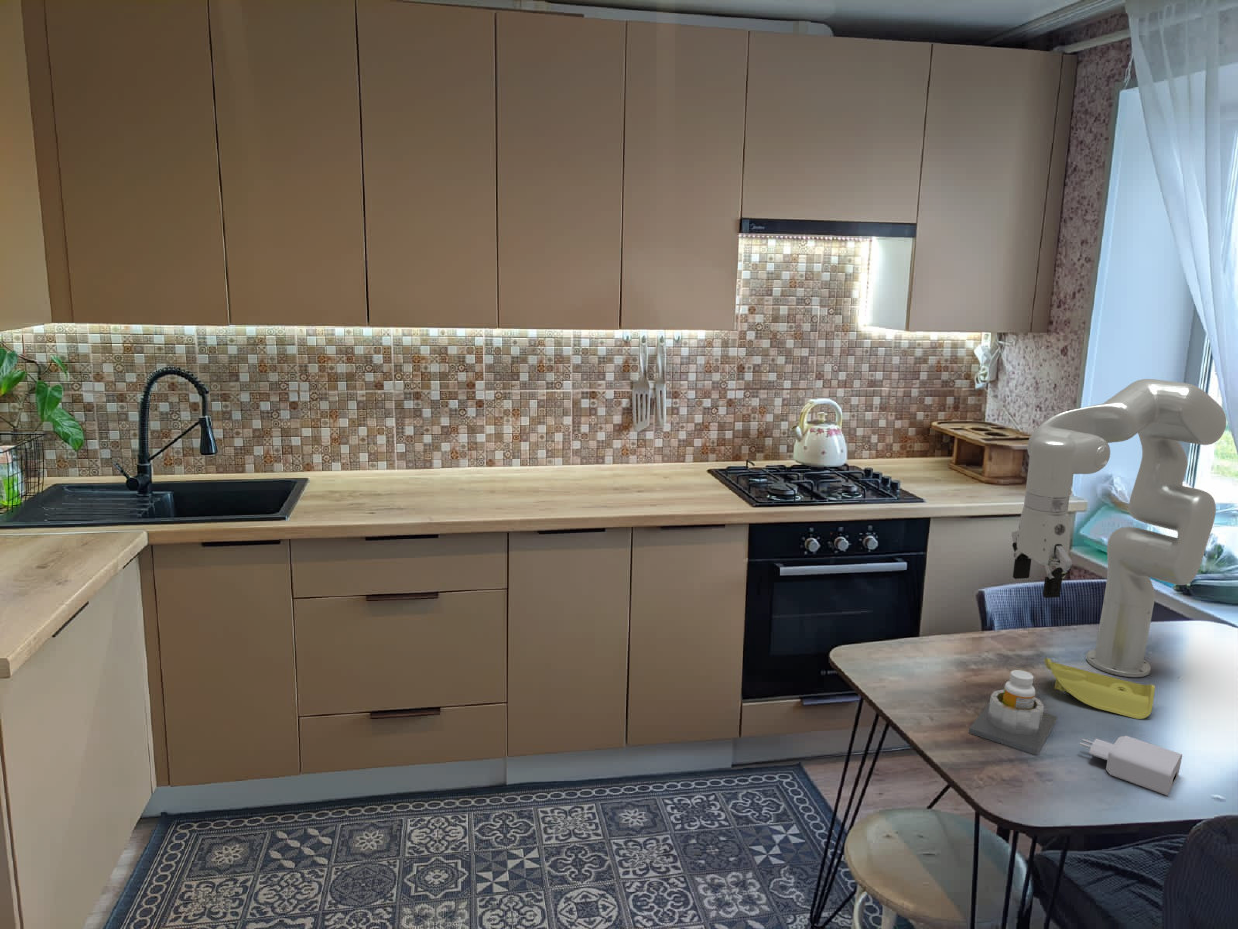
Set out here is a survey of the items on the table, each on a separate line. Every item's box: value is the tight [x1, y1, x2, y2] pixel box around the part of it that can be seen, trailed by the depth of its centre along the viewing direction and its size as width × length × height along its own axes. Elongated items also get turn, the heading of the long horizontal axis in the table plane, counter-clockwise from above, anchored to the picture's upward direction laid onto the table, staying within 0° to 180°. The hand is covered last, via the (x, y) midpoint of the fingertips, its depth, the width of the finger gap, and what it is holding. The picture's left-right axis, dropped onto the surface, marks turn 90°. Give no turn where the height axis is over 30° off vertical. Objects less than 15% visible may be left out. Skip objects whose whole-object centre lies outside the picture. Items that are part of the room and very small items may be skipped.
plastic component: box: [1043, 657, 1156, 720], centre depth 185 cm, size 20×7×10 cm
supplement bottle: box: [1002, 669, 1036, 710], centre depth 171 cm, size 5×5×10 cm
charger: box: [1078, 735, 1183, 796], centre depth 158 cm, size 5×9×15 cm
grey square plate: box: [968, 688, 1058, 756], centre depth 171 cm, size 16×12×6 cm
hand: (1035, 587), depth 173 cm, fingers open, 9 cm apart
